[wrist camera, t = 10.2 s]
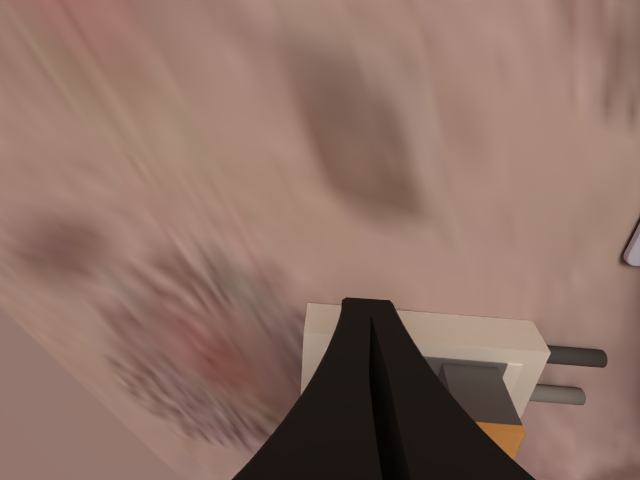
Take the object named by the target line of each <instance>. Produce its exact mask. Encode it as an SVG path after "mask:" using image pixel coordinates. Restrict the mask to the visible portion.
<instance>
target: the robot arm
mask: <svg viewBox="0 0 640 480" xmlns="http://www.w3.org/2000/svg"><path fill="white" fill-rule="evenodd" d="M624 260H625V261H626V262H627V263H628V264H630V265H632V266H640V223H639V225H638V227H637V229H636V231H635V233H634V235H633V237H632V239H631V241H630V243H629V245H628V247H627V249H626V251H625V253H624ZM232 480H535V479H534V478H533V477H532V476H531V475H530V474H528V473H527V472H526V471H525V470H524V469H523V468H522V467H520V466H519V465H518V464H517V463H516V462H515V461H514V460H513V459H512V458H511V457H510V456H509V455H508V454H507V453H506V452H505V451H504V450H503V449H501V448H500V447H499V446H498V445H497V444H496V443H495V442H494V441H493V440H492V439H491V438H490V437H489V436H488V435H487V434H486V433H485V432H484V431H483V430H482V429H481V428H480V427H479V425H478V424H477V423H476V422H475V421H474V420H473V419H472V418H471V417H470V416H469V415H468V414H467V412H466V411H465V410H464V409H463V408H462V407H461V405H460V404H459V403H458V402H457V401H456V400H455V398H454V397H453V396H452V395H451V393H450V392H449V391H448V390H447V388H446V387H445V386H444V385H443V383H442V382H441V381H440V379H439V378H438V377H437V375H436V374H435V372H434V371H433V370H432V368H431V367H430V365H429V364H428V363H427V361H426V360H425V358H424V357H423V355H422V354H421V352H420V351H419V349H418V347H417V346H416V344H415V343H414V341H413V340H412V338H411V336H410V335H409V333H408V331H407V330H406V328H405V326H404V324H403V323H402V321H401V319H400V317H399V315H398V313H397V311H396V309H395V307H394V305H393V303H392V302H391V301H390V300H377V299H362V298H347V297H346V298H345V299H343V300H342V306H341V313H340V316H339V320H338V323H337V326H336V329H335V331H334V334H333V336H332V338H331V341H330V343H329V346H328V348H327V350H326V352H325V354H324V356H323V358H322V360H321V362H320V364H319V366H318V367H317V369H316V371H315V373H314V375H313V377H312V378H311V380H310V382H309V383H308V385H307V387H306V388H305V390H304V391H303V393H302V394H301V396H300V398H299V399H298V401H297V402H296V403H295V405H294V406H293V408H292V409H291V410H290V412H289V413H288V415H287V416H286V417H285V419H284V420H283V421H282V423H281V424H280V425H279V427H278V428H277V429H276V431H275V432H274V433H273V434H272V435H271V437H270V438H269V439H268V440H267V441H266V442H265V444H264V445H263V446H262V447H261V448H260V450H259V451H258V452H257V453H256V454H255V455H254V457H253V458H252V459H251V460H250V461H249V462H248V463H247V464H246V466H245V467H244V468H243V469H242V470H241V471H240V472H239V473H238V474H237V475H236V476H235V477H234V478H233V479H232Z"/></svg>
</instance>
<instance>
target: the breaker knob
mask: <svg viewBox="0 0 640 480" xmlns="http://www.w3.org/2000/svg"><path fill="white" fill-rule="evenodd" d="M438 378H439V379H440V381H441V382H442V383H443V385H444V386H445V387H446V388H447V390H448V391H449V392H450V393H451V395H452V396H453V397H454V398H455V400H456V401H457V402H458V403H459V404H460V405H461V407H462V408H463V409H464V410H465V411H466V412H467V414H468V415H469V416H470V417H471V418H472V419H473V420H474V421H475V422H476V423H477V424H478V425H479V427H480V428H481V429H482V430H483V431H484V432H485V433H486V434H487V435H488V436H489V437H490V438H491V439H492V440H493V441H494V442H495V443H496V444H497V445H498V446H499V447H500V448H501V449H503V450H504V451H505V452H506V453H507V454H508V455H509V456H510V457H511V458H512V459H514V457H515V455H516V453H517V451H518V449H519V447H520V445H521V443H522V441H523V439H524V437H525V434H526V433H525V430H524V428H523V426H522V423H521V421H520V418H519V416H518V414H517V411H516V409H515V407H514V404H513V402H512V399H511V397H510V395H509V392H508V390H507V388H506V385H505V383H504V381H503V378H502V376H501V373H500V371H499V369H498V368H494V367H482V366H469V365H457V364H445V363H442V366H441V369H440V372H439V376H438Z"/></svg>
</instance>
